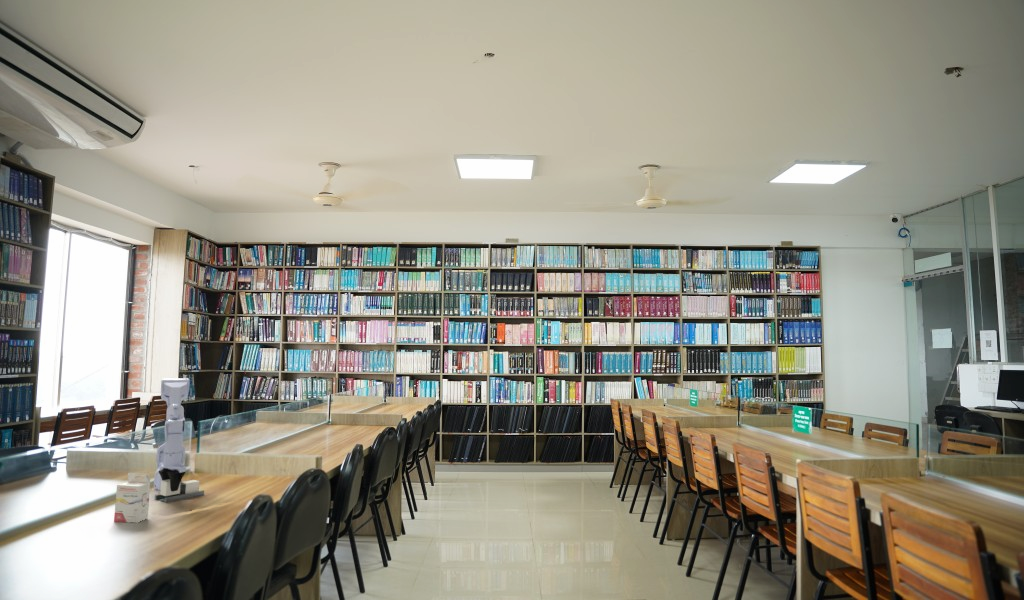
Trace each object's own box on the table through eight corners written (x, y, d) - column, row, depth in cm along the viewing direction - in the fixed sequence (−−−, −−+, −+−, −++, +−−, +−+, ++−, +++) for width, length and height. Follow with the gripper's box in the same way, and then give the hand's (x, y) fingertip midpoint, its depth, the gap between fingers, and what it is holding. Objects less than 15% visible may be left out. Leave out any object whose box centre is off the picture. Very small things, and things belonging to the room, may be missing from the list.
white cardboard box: (159, 494, 212) (160, 480, 212) (175, 491, 216) (176, 477, 217) (165, 496, 210) (166, 482, 210) (181, 493, 214) (182, 479, 215)
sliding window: (153, 502, 212) (154, 495, 212) (191, 494, 224) (191, 487, 224) (167, 505, 207) (167, 498, 208) (204, 497, 219) (205, 490, 219)
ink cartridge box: (112, 522, 187) (116, 475, 189) (124, 517, 192) (127, 472, 193) (137, 523, 186) (140, 476, 188) (148, 518, 191) (151, 473, 193)
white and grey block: (198, 494, 220) (199, 481, 220) (183, 497, 215) (184, 483, 215) (192, 493, 222) (193, 479, 222) (177, 496, 217) (178, 482, 217)
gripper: (151, 451, 215) (149, 489, 213) (173, 456, 207) (170, 494, 206) (171, 449, 221) (168, 485, 219) (192, 453, 213) (190, 491, 212)
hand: (170, 490), depth 213 cm, fingers closed on white cardboard box, 4 cm apart
